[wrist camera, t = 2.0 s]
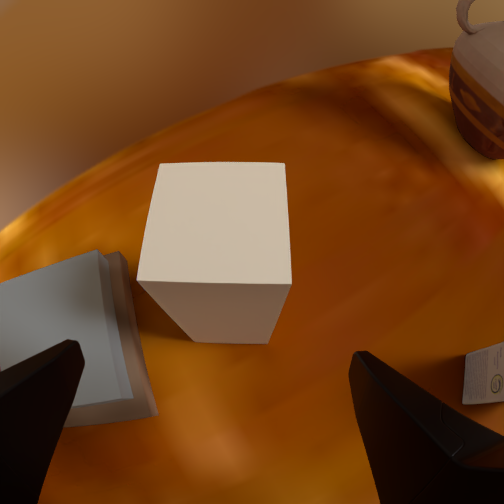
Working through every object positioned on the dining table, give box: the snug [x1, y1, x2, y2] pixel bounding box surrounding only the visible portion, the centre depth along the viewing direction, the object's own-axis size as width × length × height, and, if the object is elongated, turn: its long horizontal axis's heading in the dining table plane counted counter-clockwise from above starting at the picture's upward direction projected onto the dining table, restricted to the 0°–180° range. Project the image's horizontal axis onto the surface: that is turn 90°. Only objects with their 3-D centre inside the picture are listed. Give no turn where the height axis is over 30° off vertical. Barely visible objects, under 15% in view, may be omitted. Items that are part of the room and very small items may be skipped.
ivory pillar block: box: [137, 162, 292, 344], centre depth 16 cm, size 5×5×12 cm
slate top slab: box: [0, 250, 134, 409], centre depth 17 cm, size 10×10×2 cm
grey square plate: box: [63, 251, 159, 427], centre depth 19 cm, size 12×12×2 cm
